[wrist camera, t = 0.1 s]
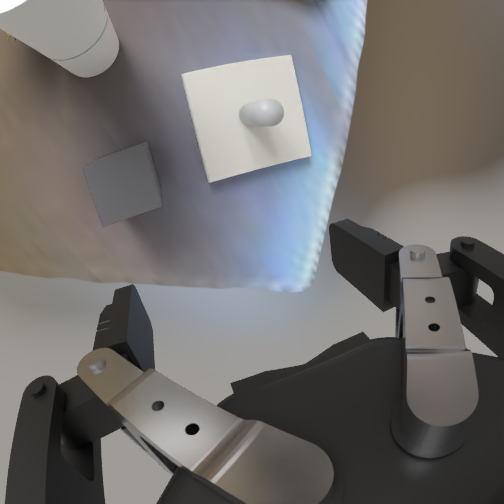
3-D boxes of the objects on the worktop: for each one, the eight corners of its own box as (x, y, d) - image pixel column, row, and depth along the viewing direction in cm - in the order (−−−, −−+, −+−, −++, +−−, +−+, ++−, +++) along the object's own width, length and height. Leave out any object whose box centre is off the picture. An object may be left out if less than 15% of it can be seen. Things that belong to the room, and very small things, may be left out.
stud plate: (181, 75, 34) (187, 61, 26) (286, 57, 36) (316, 43, 28) (207, 181, 40) (220, 194, 32) (306, 154, 42) (339, 162, 34)
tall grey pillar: (100, 157, 34) (82, 166, 26) (147, 141, 36) (143, 144, 27) (115, 204, 37) (103, 227, 28) (160, 188, 38) (162, 206, 29)
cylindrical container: (112, 17, 28) (72, -100, 6) (125, 63, 31) (84, -28, 9) (59, 40, 27) (-35, -41, 5) (72, 86, 30) (-33, 40, 8)
